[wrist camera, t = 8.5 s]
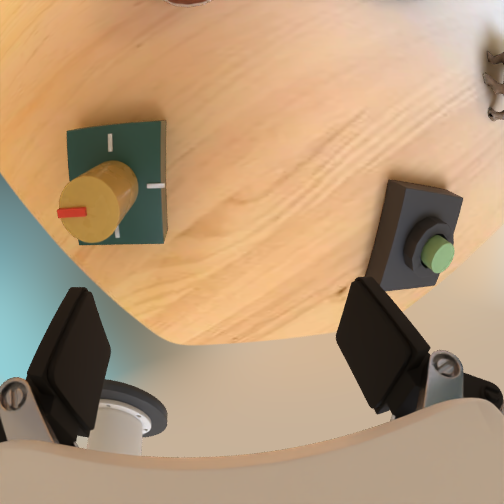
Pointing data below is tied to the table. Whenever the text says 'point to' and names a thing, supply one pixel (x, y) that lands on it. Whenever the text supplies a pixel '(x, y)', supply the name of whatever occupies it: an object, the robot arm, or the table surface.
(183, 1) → the coffee cup
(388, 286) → the button base
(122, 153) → the panel
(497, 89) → the rhinoceros figurine
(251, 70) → the table surface
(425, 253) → the green short cylinder
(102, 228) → the knob
